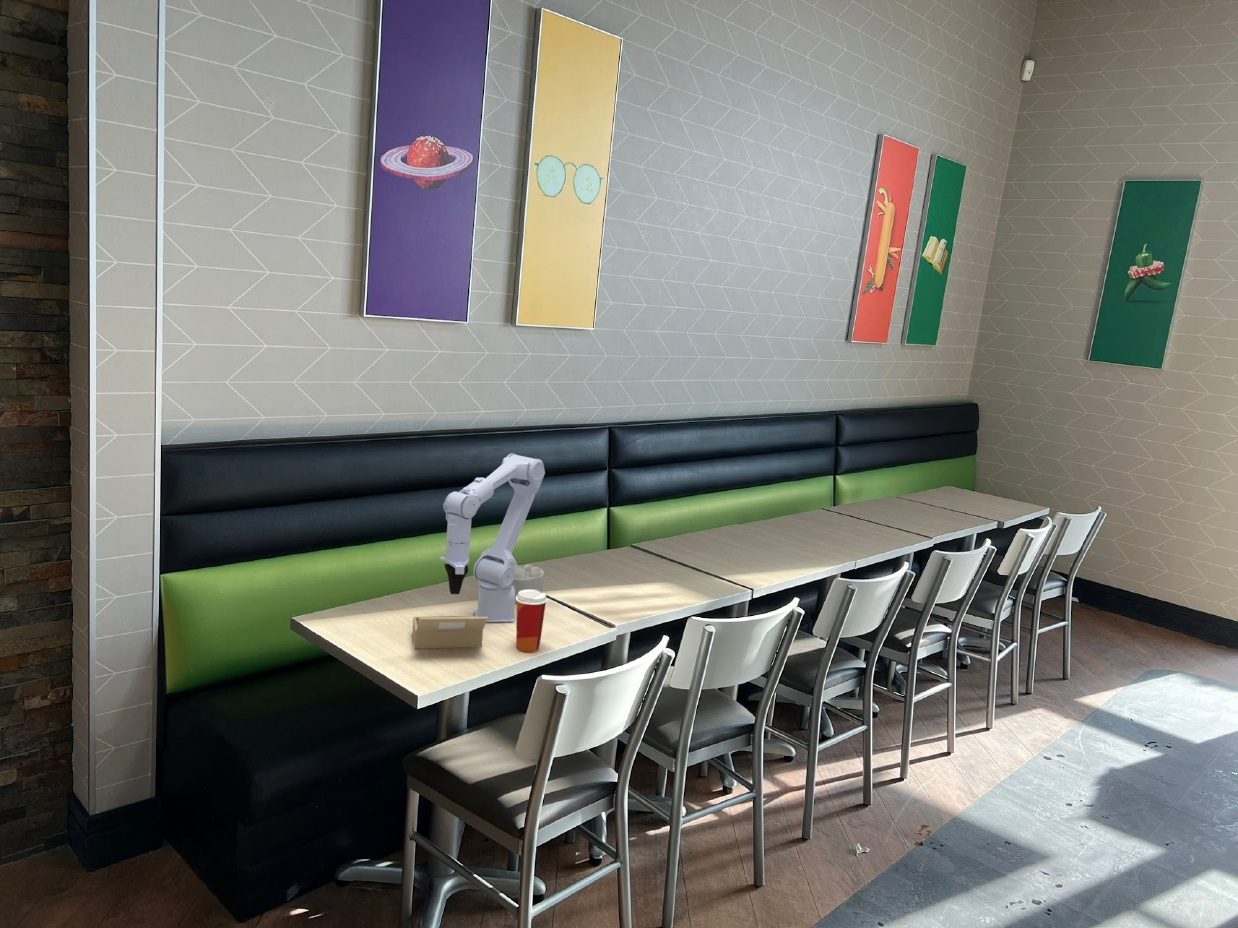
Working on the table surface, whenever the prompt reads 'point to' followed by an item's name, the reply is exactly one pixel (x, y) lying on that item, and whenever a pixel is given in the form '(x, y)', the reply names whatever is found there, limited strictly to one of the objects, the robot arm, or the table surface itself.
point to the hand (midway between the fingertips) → (454, 593)
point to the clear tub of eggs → (528, 579)
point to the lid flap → (451, 624)
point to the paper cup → (529, 619)
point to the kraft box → (446, 637)
